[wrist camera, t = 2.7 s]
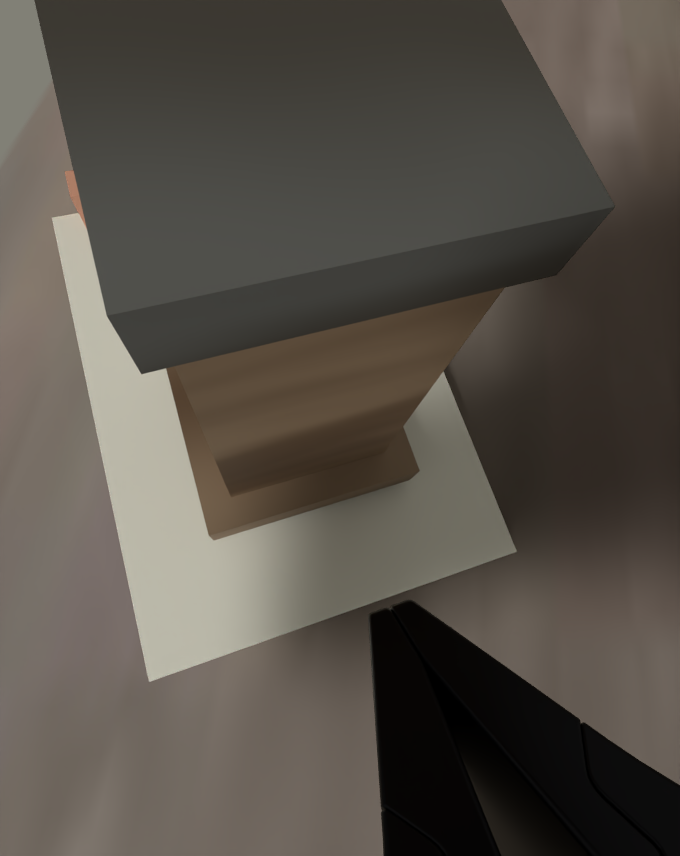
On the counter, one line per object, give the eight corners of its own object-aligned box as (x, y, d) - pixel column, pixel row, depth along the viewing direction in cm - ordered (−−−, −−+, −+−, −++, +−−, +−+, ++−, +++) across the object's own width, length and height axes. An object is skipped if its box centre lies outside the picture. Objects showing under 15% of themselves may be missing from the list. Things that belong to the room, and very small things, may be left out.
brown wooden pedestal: (409, 480, 16) (679, 237, 5) (213, 540, 15) (54, 384, 4) (347, 310, 18) (459, -141, 7) (165, 352, 16) (-42, -113, 6)
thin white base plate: (503, 554, 17) (540, 547, 15) (157, 676, 15) (135, 691, 13) (352, 177, 21) (362, 124, 19) (61, 230, 19) (31, 176, 16)
